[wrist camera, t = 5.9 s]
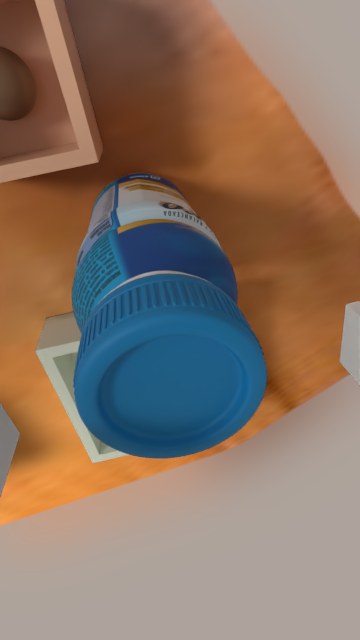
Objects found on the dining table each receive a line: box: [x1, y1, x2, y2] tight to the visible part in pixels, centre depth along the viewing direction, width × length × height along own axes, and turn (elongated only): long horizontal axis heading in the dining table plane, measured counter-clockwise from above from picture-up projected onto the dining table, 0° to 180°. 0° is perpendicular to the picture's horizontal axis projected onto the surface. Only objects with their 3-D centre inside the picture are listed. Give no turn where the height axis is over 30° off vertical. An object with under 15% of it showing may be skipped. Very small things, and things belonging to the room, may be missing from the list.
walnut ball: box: [0, 47, 37, 121], centre depth 20 cm, size 4×4×4 cm
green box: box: [35, 312, 129, 463], centre depth 34 cm, size 15×15×5 cm
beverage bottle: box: [72, 173, 267, 458], centre depth 20 cm, size 8×8×20 cm
